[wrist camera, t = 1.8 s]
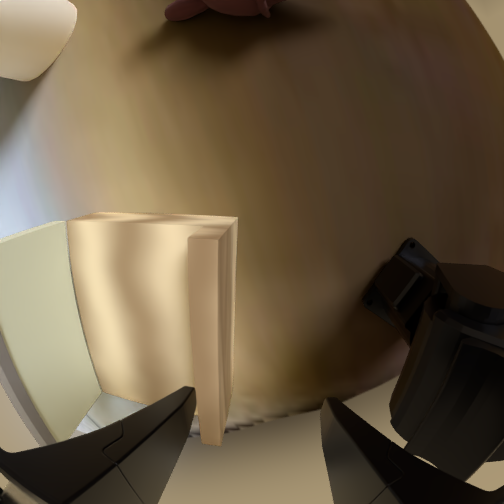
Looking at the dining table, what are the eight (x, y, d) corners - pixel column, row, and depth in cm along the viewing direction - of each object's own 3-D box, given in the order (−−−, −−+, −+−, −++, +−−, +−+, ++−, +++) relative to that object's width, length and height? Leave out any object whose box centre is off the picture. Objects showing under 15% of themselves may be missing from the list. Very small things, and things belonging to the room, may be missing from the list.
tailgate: (67, 218, 16) (-34, 253, 8) (104, 393, 21) (58, 460, 12) (53, 218, 17) (-44, 251, 8) (91, 389, 21) (44, 452, 12)
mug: (-3, 107, 18) (-68, 105, 8) (7, 42, 15) (-47, 29, 5) (71, 56, 17) (-7, 26, 6) (83, -12, 14) (27, -48, 4)
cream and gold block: (237, 217, 20) (218, 239, 13) (232, 389, 24) (221, 446, 17) (96, 212, 20) (38, 229, 14) (119, 368, 25) (88, 411, 18)
